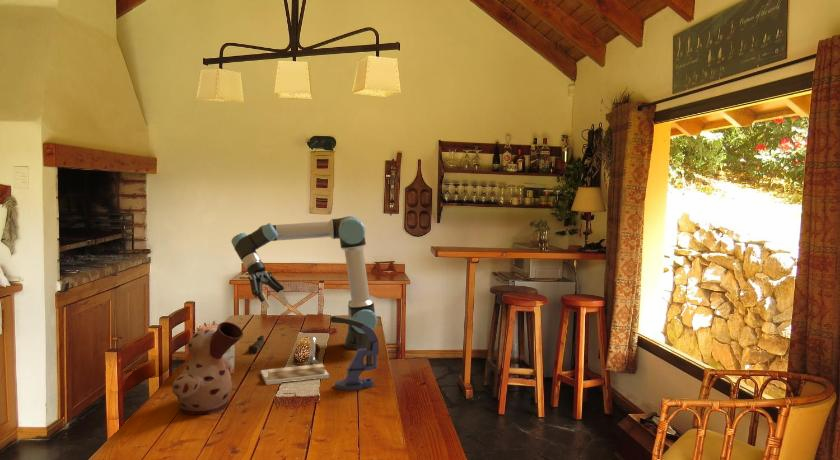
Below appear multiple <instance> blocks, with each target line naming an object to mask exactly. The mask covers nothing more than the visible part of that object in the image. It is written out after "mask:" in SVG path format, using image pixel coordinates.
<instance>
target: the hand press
mask: <svg viewBox="0 0 840 460" xmlns="http://www.w3.org/2000/svg"><path fill="white" fill-rule="evenodd" d="M329 320H330V322H331V323H336V324H346V325H348V324H349V325H353V326H356V327H358V328H359V329H361V330H363V331H364V333H365V334H366V335H367V336H368V338H369V339H370V341H371V342H372V343H371V342H370V341H369V342H367V348H365V349H358V350H357V349H356V353H355V354H354V356H353V358H352V359H351V362H350V363H349V365H348V367H347V369H346V377H345V378H344V379H339V380H336V381H334V389H336V390H339V391H340V390H341V391H362V390H363V389H370V388H373V387H374V386H375V385H374V384H375V381H374V379H372V378H366V377H365V378H362V379H360V375H361V374H362V373H363V372H365V371H372V370H375V369H377V368H378V356H379V347H380V346H379V345H380V344H379V339H378V336H377V334H376V333H375V331H374V329H373V330H372V329H371V328H369V327H368V326H366V325H364V324H363V323H360V322H357V321H354V320H350V319H348V318H344V317H339V316H335V315H334V316H330V319H329ZM364 358H365V359H366V360H365V361H366V362H365V363H364Z"/></svg>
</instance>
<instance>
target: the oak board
mask: <svg viewBox="0 0 840 460" xmlns="http://www.w3.org/2000/svg"><path fill="white" fill-rule="evenodd" d="M325 367H326V366H325V365H324V364H323V363H320V364H316V365H306V366H304V365H299V366H289V367H278V368H268V369H267V370H268V377H269V379H270V380H272V379H282V378H291V377H300V376H309V375H318V374H325V370H326V368H325Z"/></svg>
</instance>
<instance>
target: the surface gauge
mask: <svg viewBox="0 0 840 460" xmlns="http://www.w3.org/2000/svg"><path fill="white" fill-rule="evenodd" d="M308 351H309V352H308V353H309V356H308V357H309V358H308V360H306V361H303V366H306V365H316V364H321V362H319V360H317V359H316V336H310V337H309V350H308Z"/></svg>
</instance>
